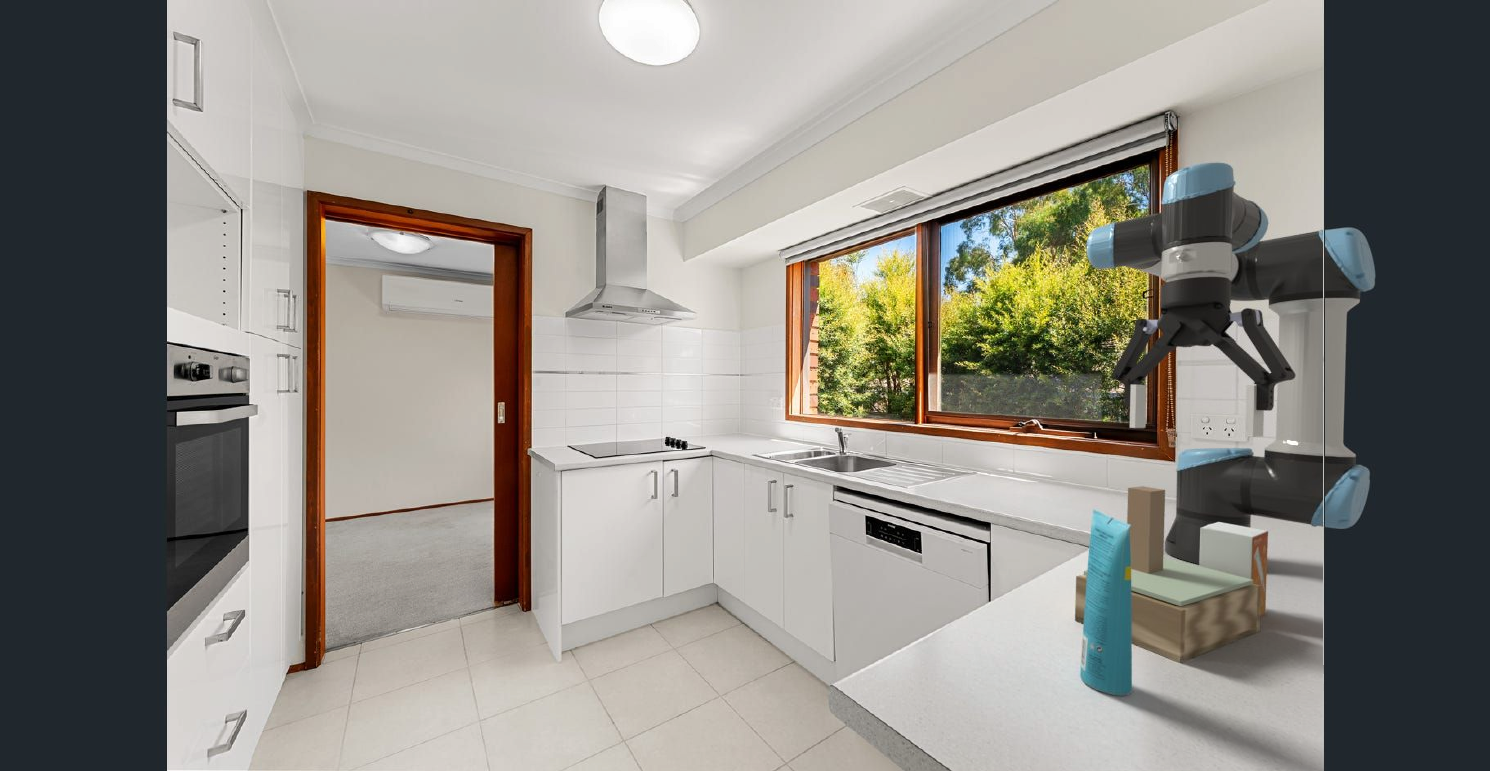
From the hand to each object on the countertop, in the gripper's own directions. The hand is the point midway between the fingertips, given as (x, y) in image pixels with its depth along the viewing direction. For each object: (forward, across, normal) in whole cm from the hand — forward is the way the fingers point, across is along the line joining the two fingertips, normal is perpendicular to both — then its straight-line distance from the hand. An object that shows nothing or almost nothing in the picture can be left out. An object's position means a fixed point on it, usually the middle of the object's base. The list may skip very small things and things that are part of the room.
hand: (1191, 432), depth 74 cm
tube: (+28, +3, -24) cm, 37 cm away
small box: (+29, -2, +17) cm, 33 cm away
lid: (+22, -3, +1) cm, 22 cm away
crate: (+28, -3, +1) cm, 29 cm away
